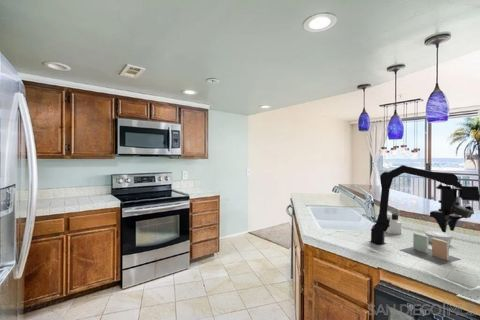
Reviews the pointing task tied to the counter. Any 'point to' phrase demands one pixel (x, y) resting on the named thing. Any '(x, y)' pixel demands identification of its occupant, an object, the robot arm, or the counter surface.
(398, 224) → the medicine bottle
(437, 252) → the cream angular block
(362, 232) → the counter surface
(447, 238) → the ramekin
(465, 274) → the counter surface
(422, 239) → the sage tile
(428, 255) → the slate mat
